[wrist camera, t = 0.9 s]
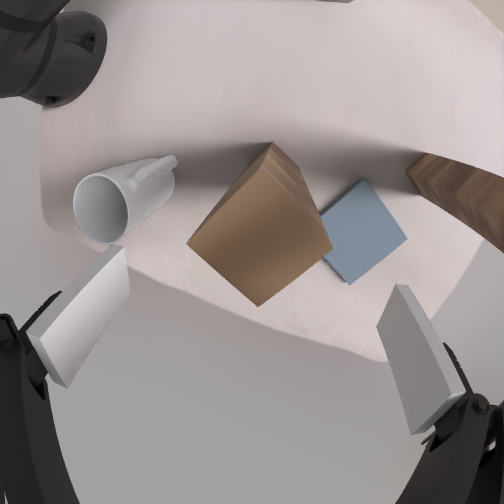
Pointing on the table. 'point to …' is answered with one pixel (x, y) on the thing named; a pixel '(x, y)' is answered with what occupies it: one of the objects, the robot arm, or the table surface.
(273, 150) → the corner post
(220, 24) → the table surface
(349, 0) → the toilet tissue
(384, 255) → the mat
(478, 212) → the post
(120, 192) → the mug
